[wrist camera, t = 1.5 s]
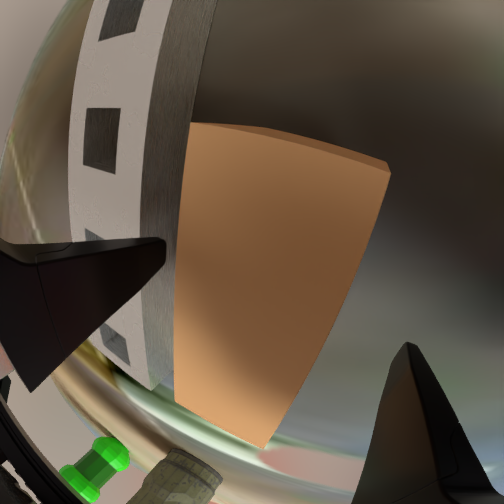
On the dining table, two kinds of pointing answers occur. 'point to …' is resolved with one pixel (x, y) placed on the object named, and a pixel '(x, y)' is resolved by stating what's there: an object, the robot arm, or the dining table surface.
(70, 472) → the plastic bottle
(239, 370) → the tapered peach wedge
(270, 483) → the dining table surface
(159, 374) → the rail
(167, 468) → the thermos
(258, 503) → the dining table surface
